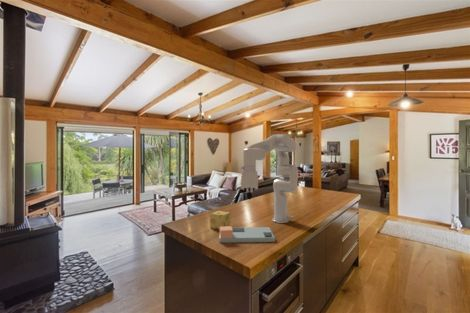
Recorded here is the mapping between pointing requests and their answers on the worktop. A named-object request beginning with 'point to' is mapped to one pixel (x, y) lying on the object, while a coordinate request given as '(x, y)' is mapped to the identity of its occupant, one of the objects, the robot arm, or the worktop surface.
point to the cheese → (219, 219)
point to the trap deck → (250, 235)
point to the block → (226, 232)
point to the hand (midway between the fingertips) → (249, 198)
